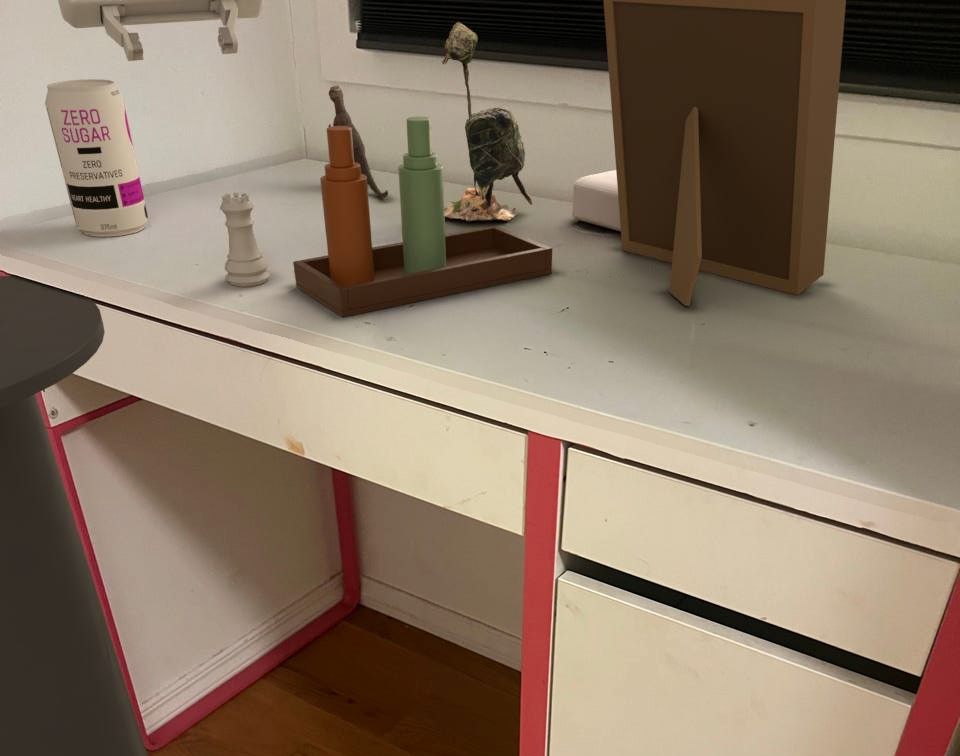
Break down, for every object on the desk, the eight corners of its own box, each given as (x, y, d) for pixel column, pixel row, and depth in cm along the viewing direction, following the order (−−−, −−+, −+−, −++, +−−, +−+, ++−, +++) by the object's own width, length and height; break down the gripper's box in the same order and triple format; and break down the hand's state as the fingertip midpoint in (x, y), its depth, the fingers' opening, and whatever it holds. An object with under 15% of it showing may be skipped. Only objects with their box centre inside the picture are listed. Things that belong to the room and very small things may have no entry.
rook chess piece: (240, 290, 94) (226, 203, 89) (217, 280, 97) (202, 195, 92) (279, 280, 96) (267, 195, 92) (255, 271, 99) (243, 188, 94)
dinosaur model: (337, 81, 125) (401, 102, 116) (346, 177, 133) (407, 204, 124) (310, 86, 123) (373, 108, 114) (321, 183, 131) (381, 210, 122)
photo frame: (647, 242, 106) (671, -33, 91) (821, 285, 93) (883, -26, 78) (555, 270, 98) (565, -25, 83) (732, 322, 85) (782, -17, 70)
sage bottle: (417, 284, 93) (409, 124, 85) (397, 273, 96) (387, 117, 88) (454, 277, 95) (449, 119, 87) (433, 266, 98) (427, 113, 90)
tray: (342, 317, 88) (339, 289, 86) (296, 287, 95) (292, 261, 93) (551, 273, 97) (552, 248, 96) (495, 249, 105) (495, 225, 103)
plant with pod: (505, 233, 110) (506, 27, 98) (428, 218, 115) (420, 22, 103) (544, 217, 115) (550, 20, 103) (469, 204, 120) (466, 16, 108)
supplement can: (134, 216, 118) (103, 76, 109) (160, 230, 112) (131, 84, 103) (68, 227, 114) (30, 83, 105) (92, 242, 109) (55, 92, 99)
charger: (667, 248, 104) (571, 221, 113) (721, 233, 109) (625, 208, 118) (671, 202, 101) (573, 178, 110) (727, 188, 106) (628, 166, 115)
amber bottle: (343, 299, 90) (327, 134, 82) (324, 287, 93) (307, 126, 84) (382, 291, 92) (371, 128, 83) (363, 280, 95) (350, 121, 86)
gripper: (28, -98, 89) (72, 35, 88) (241, -101, 96) (285, 21, 95) (36, -41, 95) (78, 84, 94) (237, -48, 102) (278, 68, 101)
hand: (184, 52), depth 95 cm, fingers open, 8 cm apart
